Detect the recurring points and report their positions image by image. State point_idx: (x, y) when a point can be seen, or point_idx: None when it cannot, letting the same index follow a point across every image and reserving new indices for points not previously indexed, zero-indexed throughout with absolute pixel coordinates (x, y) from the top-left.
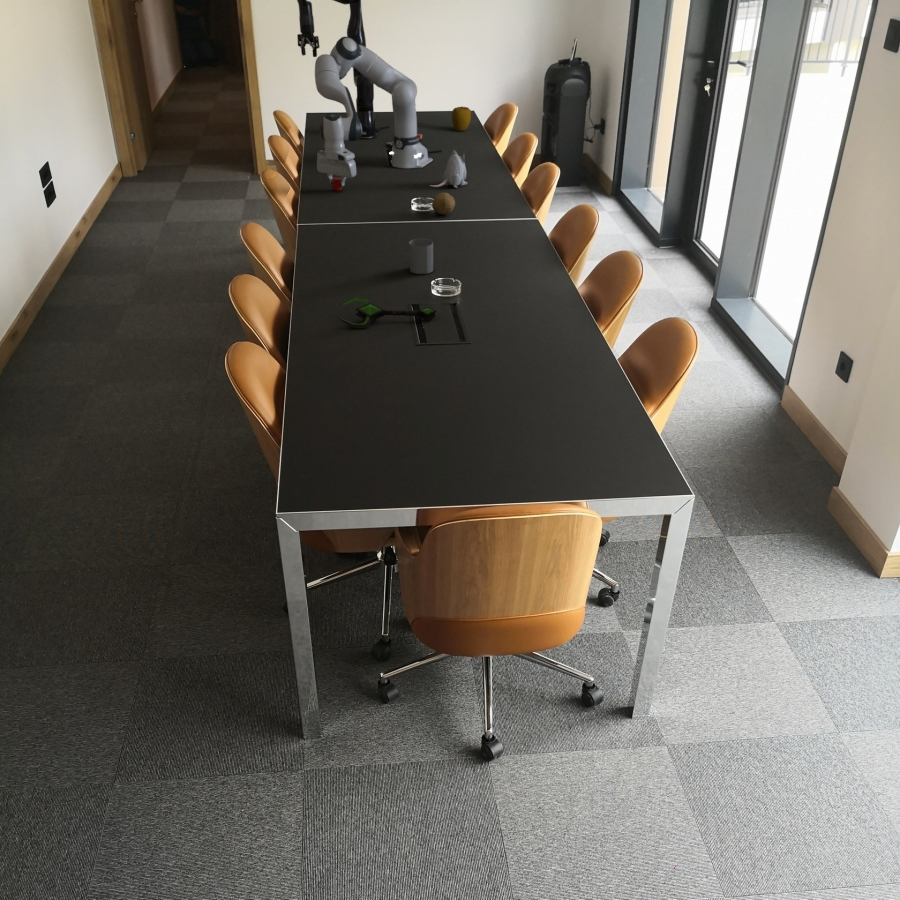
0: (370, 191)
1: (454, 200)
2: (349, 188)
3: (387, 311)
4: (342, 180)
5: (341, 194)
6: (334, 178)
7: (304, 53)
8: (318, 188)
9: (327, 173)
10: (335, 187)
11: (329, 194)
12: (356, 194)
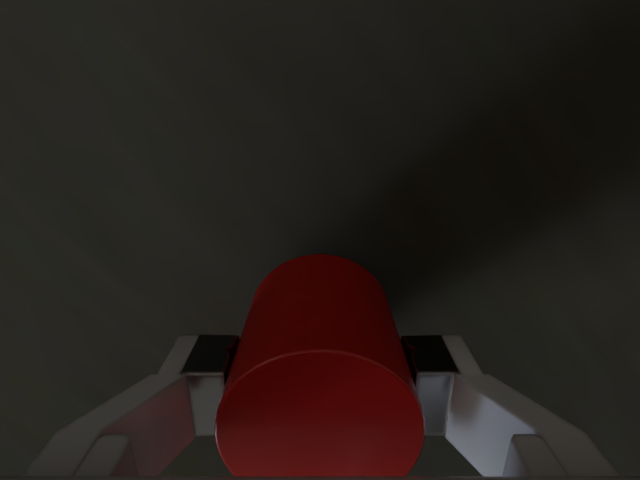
0: (5, 466)
1: None
2: None
3: None
4: (110, 403)
5: (163, 210)
6: (367, 423)
7: None
8: (629, 257)
9: (600, 477)
10: (296, 274)
11: (309, 109)
12: (14, 314)
